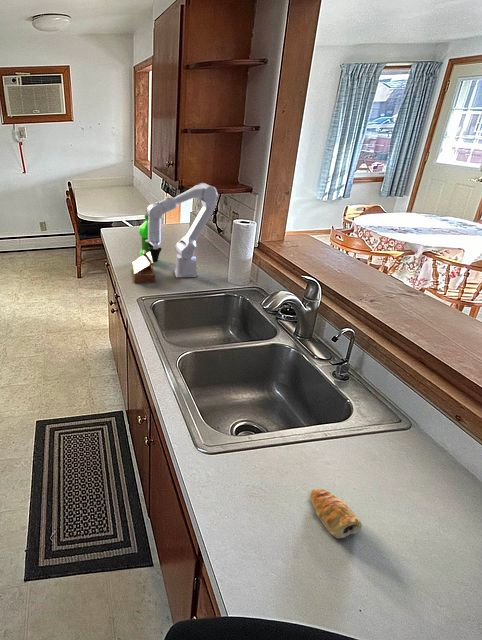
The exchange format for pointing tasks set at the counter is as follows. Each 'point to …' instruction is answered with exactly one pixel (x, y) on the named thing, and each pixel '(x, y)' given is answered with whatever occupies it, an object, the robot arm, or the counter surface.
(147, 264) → the lid
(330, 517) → the pastry
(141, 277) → the brown wooden box
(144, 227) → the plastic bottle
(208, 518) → the counter surface
